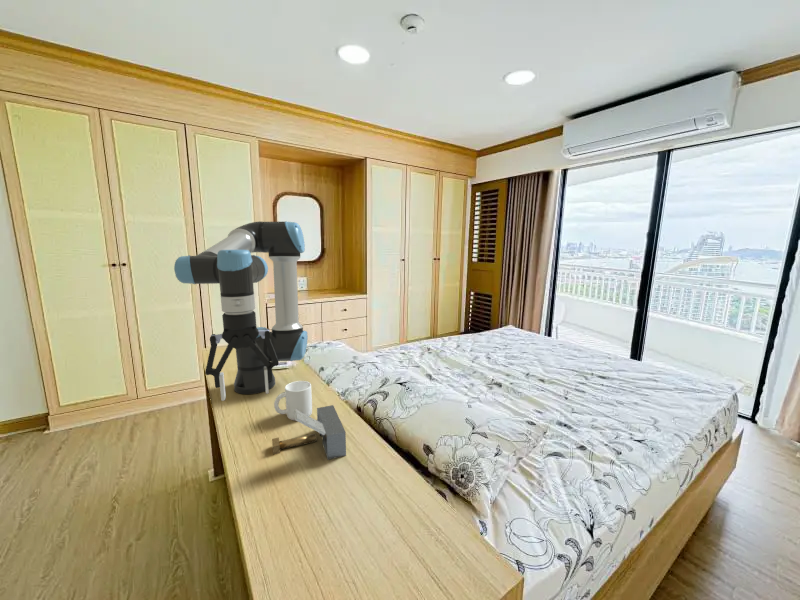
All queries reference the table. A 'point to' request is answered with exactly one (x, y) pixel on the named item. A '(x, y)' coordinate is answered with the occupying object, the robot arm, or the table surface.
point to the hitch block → (332, 432)
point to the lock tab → (309, 422)
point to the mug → (296, 399)
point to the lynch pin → (291, 442)
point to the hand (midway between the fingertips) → (245, 394)
